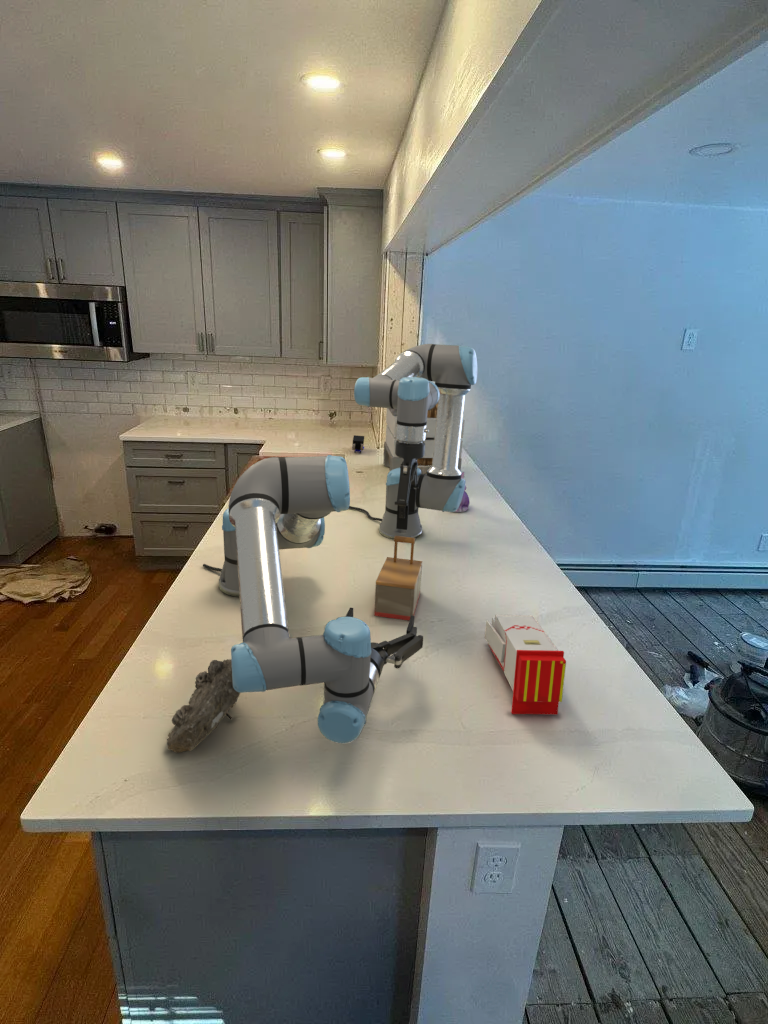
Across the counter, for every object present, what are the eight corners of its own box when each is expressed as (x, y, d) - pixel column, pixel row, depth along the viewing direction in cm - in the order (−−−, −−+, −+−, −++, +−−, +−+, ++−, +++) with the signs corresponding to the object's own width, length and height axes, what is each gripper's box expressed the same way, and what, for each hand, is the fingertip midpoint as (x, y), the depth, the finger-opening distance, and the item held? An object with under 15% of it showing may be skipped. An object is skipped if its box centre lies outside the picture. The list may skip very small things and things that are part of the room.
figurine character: (364, 456, 305) (364, 447, 319) (364, 443, 302) (364, 434, 315) (351, 456, 305) (352, 446, 318) (351, 443, 302) (352, 434, 315)
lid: (386, 559, 158) (388, 531, 155) (422, 564, 156) (424, 535, 153) (375, 584, 143) (376, 553, 140) (414, 589, 142) (416, 558, 139)
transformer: (382, 463, 289) (386, 382, 275) (445, 464, 293) (451, 384, 279) (390, 482, 257) (394, 392, 243) (460, 483, 261) (468, 394, 247)
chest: (385, 589, 160) (386, 560, 157) (420, 593, 158) (422, 564, 155) (374, 615, 146) (375, 584, 143) (412, 620, 145) (414, 589, 142)
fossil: (192, 660, 117) (244, 628, 112) (224, 691, 120) (276, 661, 115) (142, 746, 98) (202, 712, 93) (182, 779, 101) (242, 748, 96)
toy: (530, 600, 137) (574, 657, 108) (525, 651, 140) (567, 720, 111) (480, 599, 137) (511, 656, 107) (477, 651, 139) (506, 719, 110)
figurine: (456, 514, 221) (459, 477, 216) (441, 506, 229) (444, 470, 224) (475, 511, 225) (479, 475, 220) (461, 503, 234) (464, 468, 229)
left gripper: (295, 680, 108) (326, 624, 128) (425, 700, 104) (437, 639, 124) (294, 646, 106) (327, 594, 125) (428, 665, 101) (439, 609, 121)
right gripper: (418, 453, 130) (413, 538, 137) (431, 432, 153) (425, 506, 161) (386, 450, 132) (382, 535, 139) (403, 430, 155) (399, 503, 162)
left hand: (381, 616), depth 125 cm, fingers open, 13 cm apart
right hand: (405, 519), depth 150 cm, fingers open, 13 cm apart
